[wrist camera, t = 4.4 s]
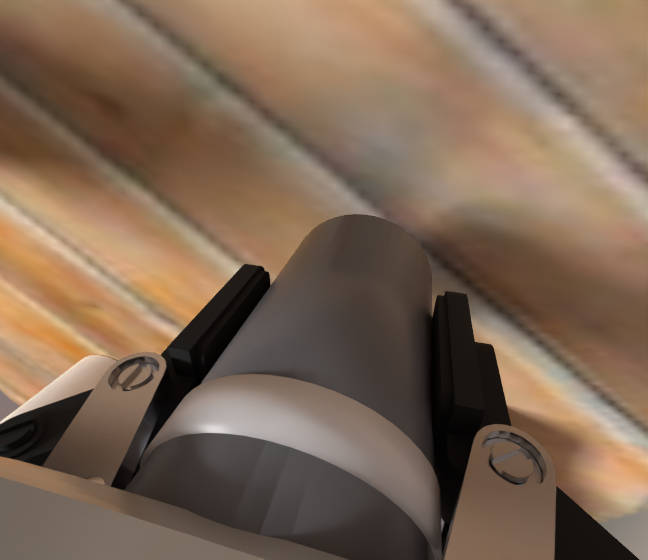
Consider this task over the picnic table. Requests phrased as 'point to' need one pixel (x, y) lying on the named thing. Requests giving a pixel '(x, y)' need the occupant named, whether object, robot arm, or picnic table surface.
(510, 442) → the robot arm
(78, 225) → the picnic table surface
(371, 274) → the flashlight
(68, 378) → the cylindrical container
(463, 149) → the picnic table surface
